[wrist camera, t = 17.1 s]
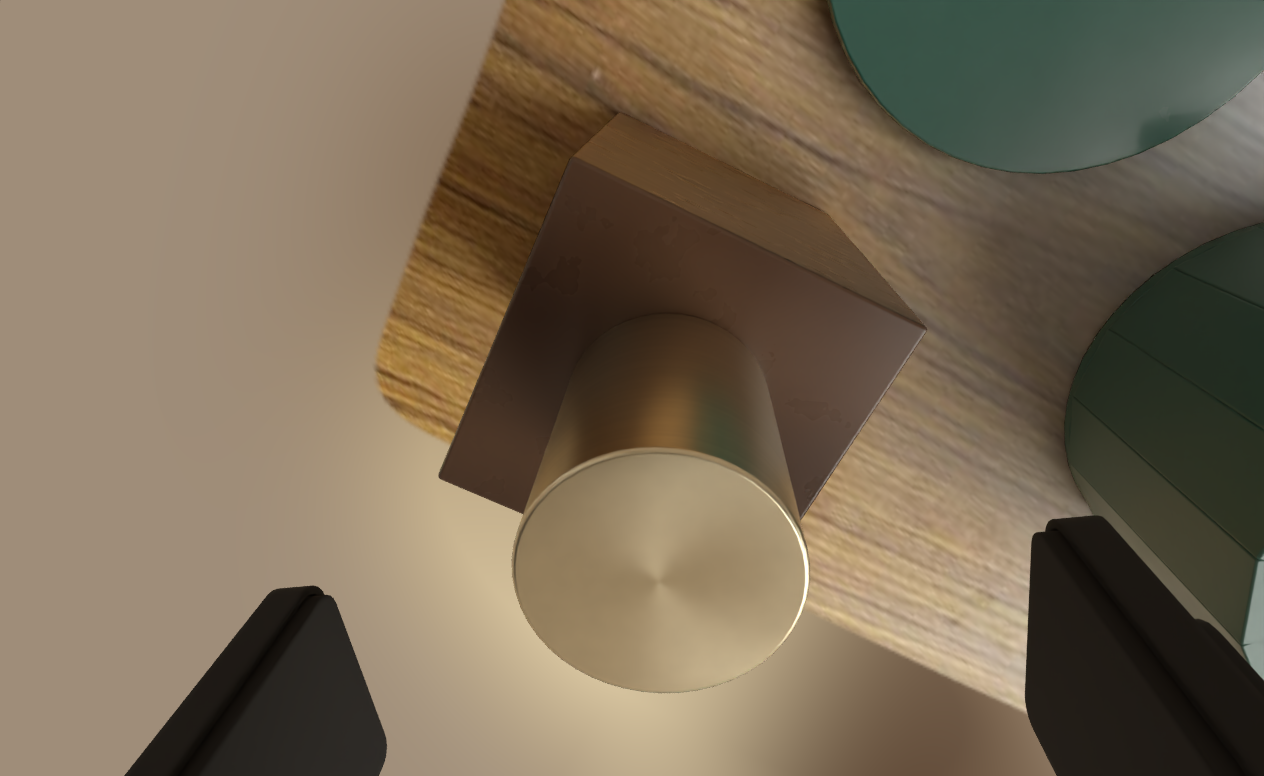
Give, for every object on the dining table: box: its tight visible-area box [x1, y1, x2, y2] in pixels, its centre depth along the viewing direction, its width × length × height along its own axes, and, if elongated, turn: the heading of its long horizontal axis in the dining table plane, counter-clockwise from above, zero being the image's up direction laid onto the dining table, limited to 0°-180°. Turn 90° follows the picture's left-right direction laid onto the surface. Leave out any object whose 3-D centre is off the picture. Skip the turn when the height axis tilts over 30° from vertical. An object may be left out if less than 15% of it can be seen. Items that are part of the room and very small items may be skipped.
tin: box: [512, 313, 810, 693], centre depth 14 cm, size 4×4×6 cm
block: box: [439, 112, 927, 520], centre depth 22 cm, size 8×8×12 cm
